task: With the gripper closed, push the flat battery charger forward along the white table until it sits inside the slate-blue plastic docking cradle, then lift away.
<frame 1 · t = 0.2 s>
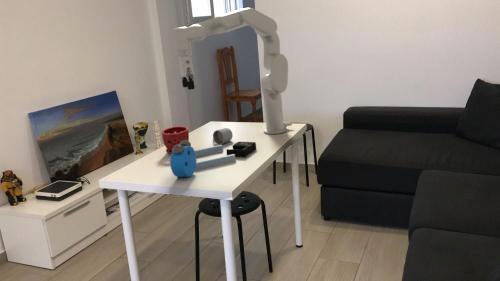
hand: (188, 88, 224), 31 cm above the table, tool pointing down, fingers open, 9 cm apart
ceramic mug: (221, 142, 237), on the table
battery charger: (242, 154, 216), on the table
alarm clock: (186, 176, 192), on the table
plant pot: (178, 152, 227), on the table
dock: (211, 159, 211), on the table
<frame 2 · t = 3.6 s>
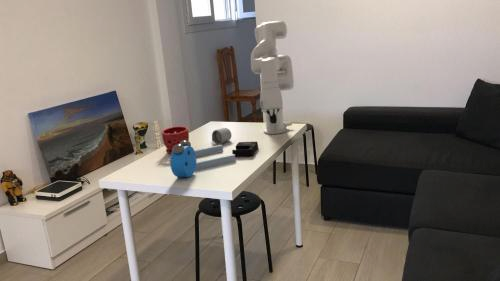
hand: (273, 122, 218), 12 cm above the table, tool pointing down, fingers closed
battery charger: (245, 154, 215), on the table
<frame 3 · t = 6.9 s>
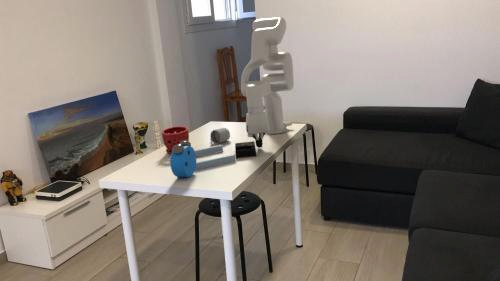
hand: (259, 146, 219), 1 cm above the table, tool pointing down, fingers closed
battery charger: (246, 154, 215), on the table, touching gripper
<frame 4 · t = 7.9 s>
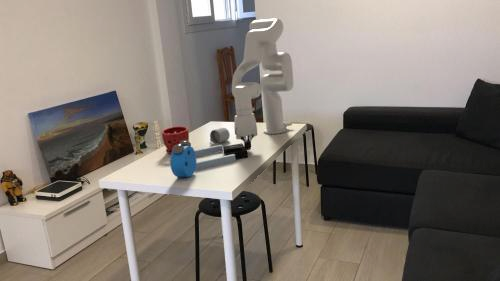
hand: (248, 149, 217), 1 cm above the table, tool pointing down, fingers closed
battery charger: (235, 156, 213), on the table
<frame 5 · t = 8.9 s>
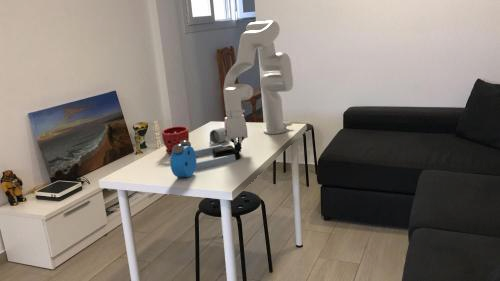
hand: (238, 151, 215), 1 cm above the table, tool pointing down, fingers closed
battery charger: (226, 158, 212), on the table, touching dock
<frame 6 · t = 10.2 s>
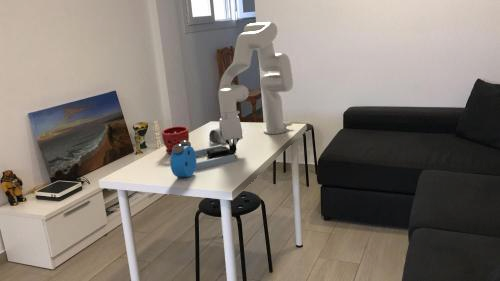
hand: (233, 152, 214), 1 cm above the table, tool pointing down, fingers closed
battery charger: (221, 159, 211), on the table
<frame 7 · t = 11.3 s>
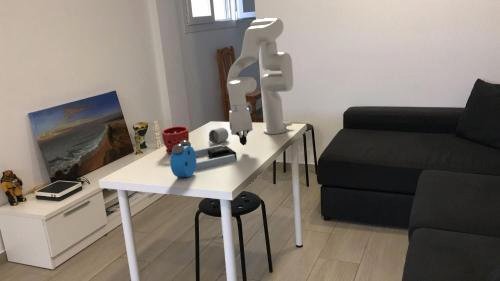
hand: (243, 144, 216), 4 cm above the table, tool pointing down, fingers closed
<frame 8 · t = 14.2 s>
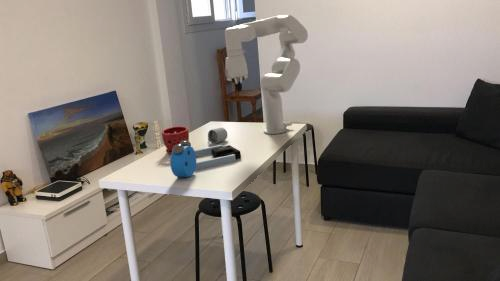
hand: (238, 91, 223), 27 cm above the table, tool pointing down, fingers closed
battery charger: (226, 158, 212), on the table
at the end: battery charger inside the target area (7.4 cm from its centre), on the table; battery charger moved 8.5 cm from its start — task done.
